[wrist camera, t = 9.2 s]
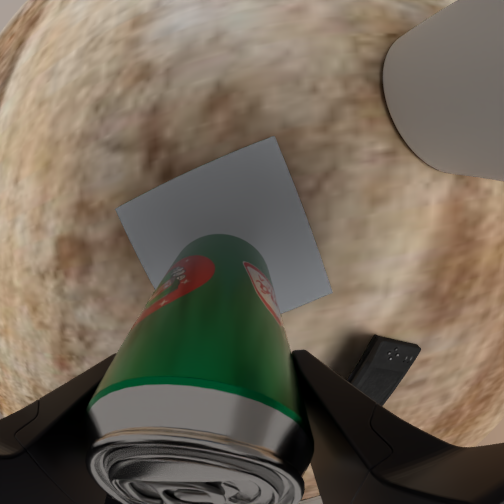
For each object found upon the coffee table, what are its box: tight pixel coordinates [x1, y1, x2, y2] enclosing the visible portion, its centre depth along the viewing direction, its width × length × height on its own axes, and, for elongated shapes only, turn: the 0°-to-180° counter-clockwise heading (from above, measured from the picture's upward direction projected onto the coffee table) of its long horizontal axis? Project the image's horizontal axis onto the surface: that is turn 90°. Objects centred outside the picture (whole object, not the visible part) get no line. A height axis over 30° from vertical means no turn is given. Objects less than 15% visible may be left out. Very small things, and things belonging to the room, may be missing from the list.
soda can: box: [85, 234, 314, 504], centre depth 10 cm, size 5×5×12 cm
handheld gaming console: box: [347, 335, 421, 406], centre depth 23 cm, size 12×7×10 cm
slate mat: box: [115, 136, 333, 314], centre depth 20 cm, size 12×12×1 cm
